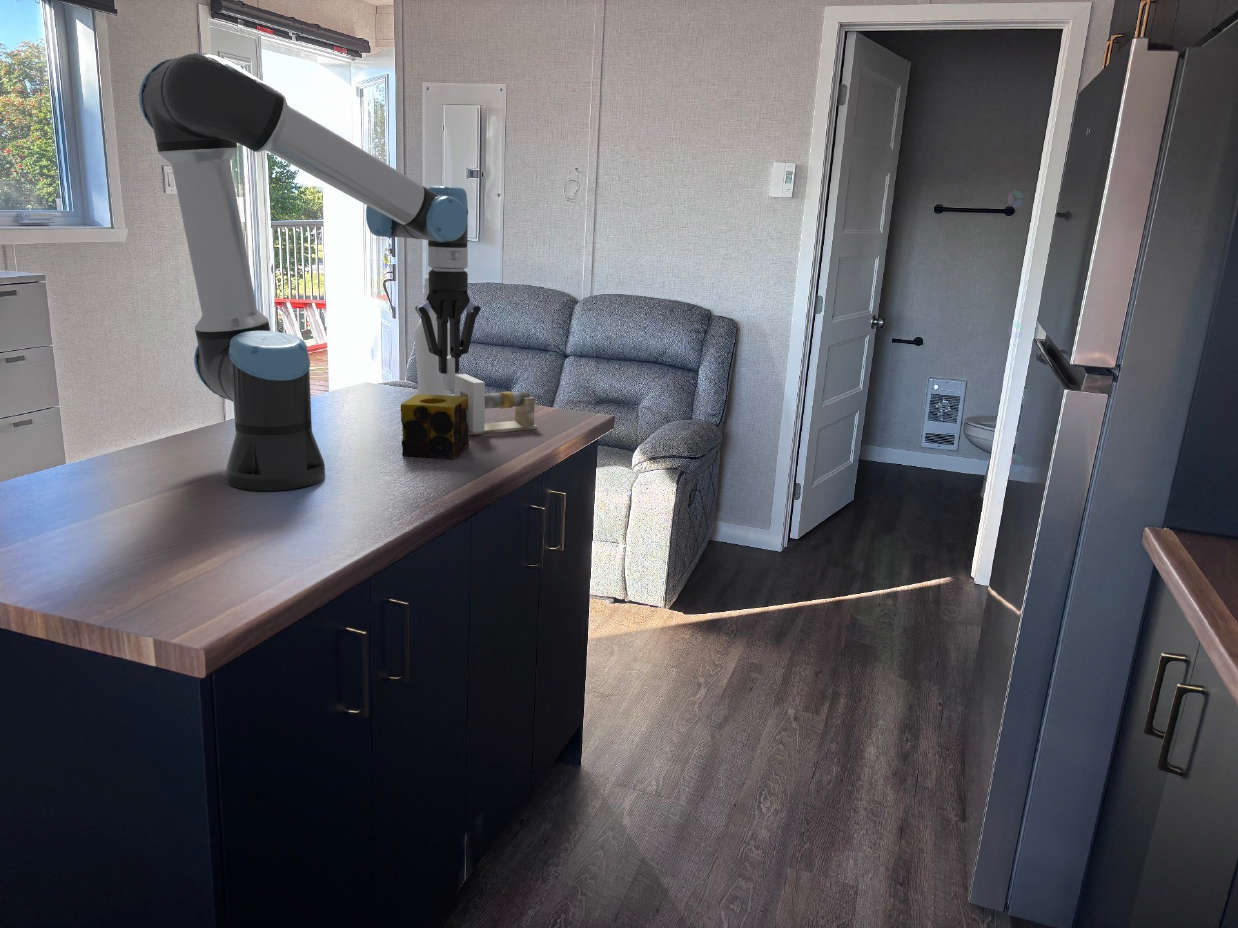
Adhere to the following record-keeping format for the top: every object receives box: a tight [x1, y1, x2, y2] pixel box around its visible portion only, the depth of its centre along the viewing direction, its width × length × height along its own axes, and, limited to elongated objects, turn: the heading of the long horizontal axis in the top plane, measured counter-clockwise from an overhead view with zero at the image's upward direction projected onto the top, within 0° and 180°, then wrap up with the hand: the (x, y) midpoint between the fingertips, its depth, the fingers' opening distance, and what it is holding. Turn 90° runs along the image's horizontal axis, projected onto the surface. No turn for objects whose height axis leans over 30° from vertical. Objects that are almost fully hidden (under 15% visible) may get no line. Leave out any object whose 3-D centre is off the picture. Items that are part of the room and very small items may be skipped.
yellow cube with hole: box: [400, 393, 470, 460], centre depth 171 cm, size 10×10×10 cm
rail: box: [464, 390, 538, 436], centre depth 190 cm, size 19×6×8 cm, turn 121°
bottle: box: [413, 275, 452, 396], centre depth 199 cm, size 8×8×30 cm
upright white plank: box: [454, 373, 486, 432], centre depth 187 cm, size 2×10×10 cm, turn 31°
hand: (449, 389), depth 184 cm, fingers closed
